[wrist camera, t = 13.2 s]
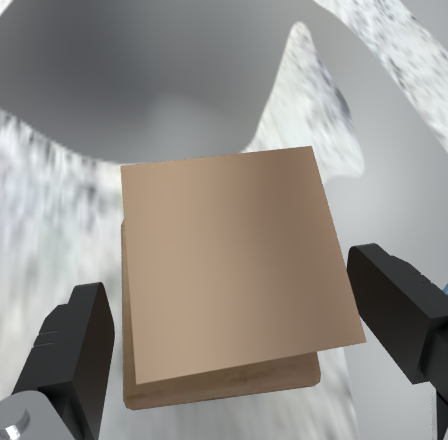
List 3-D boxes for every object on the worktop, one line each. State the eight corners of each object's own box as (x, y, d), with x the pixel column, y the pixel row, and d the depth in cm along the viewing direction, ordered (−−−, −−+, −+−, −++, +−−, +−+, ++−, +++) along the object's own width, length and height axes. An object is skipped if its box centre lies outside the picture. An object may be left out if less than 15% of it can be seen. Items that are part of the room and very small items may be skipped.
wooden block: (258, 361, 36) (326, 386, 17) (162, 373, 35) (121, 413, 16) (245, 268, 39) (291, 201, 20) (157, 276, 38) (119, 214, 19)
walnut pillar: (170, 359, 17) (136, 384, 7) (159, 254, 19) (120, 166, 9) (275, 341, 18) (366, 342, 8) (255, 240, 19) (312, 145, 10)
